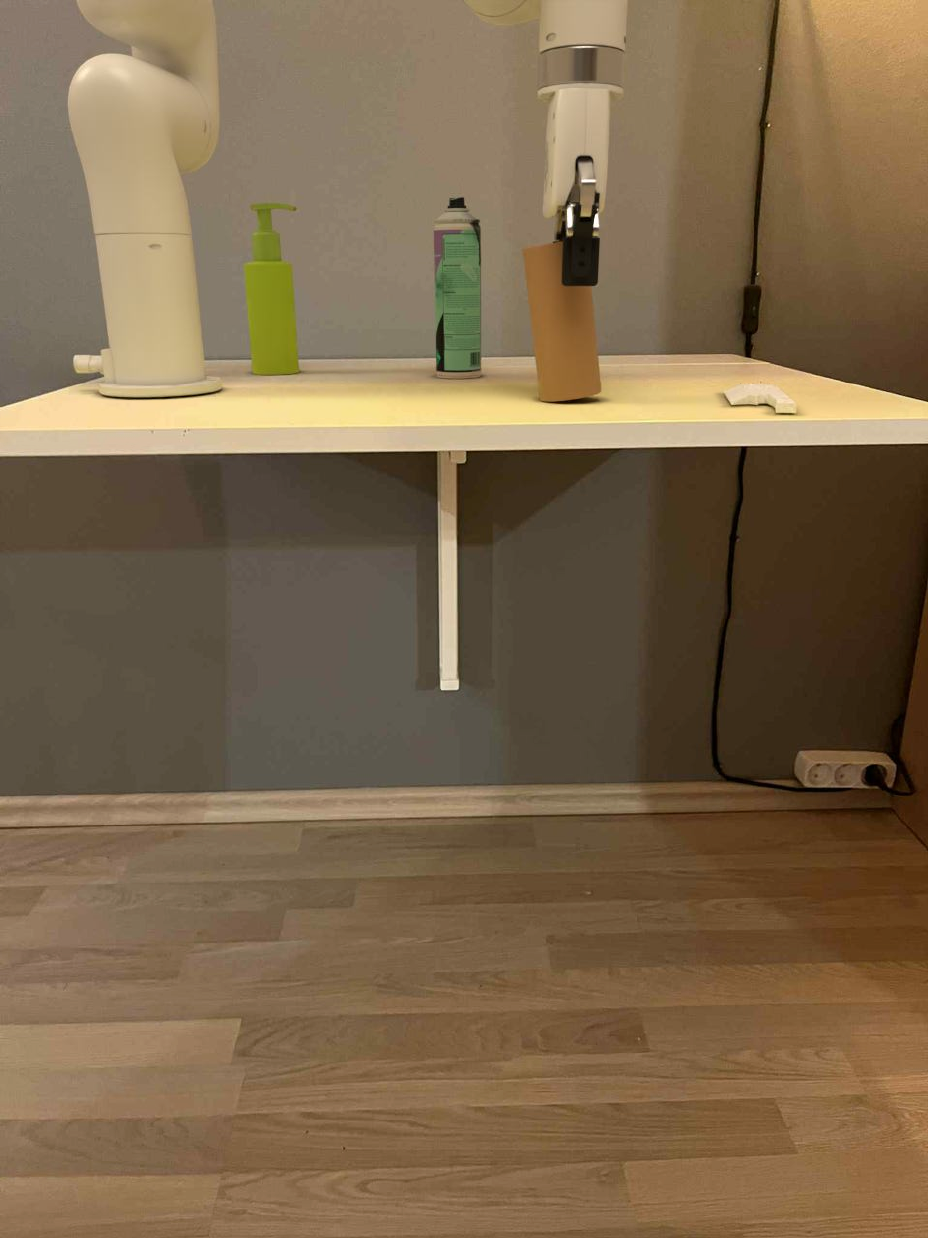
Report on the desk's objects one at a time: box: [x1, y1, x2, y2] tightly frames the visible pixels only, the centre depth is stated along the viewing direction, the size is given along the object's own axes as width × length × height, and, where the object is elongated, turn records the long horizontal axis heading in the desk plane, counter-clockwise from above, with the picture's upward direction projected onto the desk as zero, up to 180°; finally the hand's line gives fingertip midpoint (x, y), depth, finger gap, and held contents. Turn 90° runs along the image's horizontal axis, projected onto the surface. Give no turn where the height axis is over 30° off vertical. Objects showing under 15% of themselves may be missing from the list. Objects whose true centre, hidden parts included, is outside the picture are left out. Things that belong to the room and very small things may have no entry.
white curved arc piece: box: [723, 382, 797, 414], centre depth 89 cm, size 5×15×1 cm, turn 169°
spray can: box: [433, 196, 482, 380], centre depth 112 cm, size 6×6×20 cm
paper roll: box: [521, 241, 602, 403], centre depth 90 cm, size 14×6×6 cm
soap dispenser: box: [243, 202, 300, 376], centre depth 119 cm, size 6×7×20 cm
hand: (573, 285), depth 89 cm, fingers open, 9 cm apart
